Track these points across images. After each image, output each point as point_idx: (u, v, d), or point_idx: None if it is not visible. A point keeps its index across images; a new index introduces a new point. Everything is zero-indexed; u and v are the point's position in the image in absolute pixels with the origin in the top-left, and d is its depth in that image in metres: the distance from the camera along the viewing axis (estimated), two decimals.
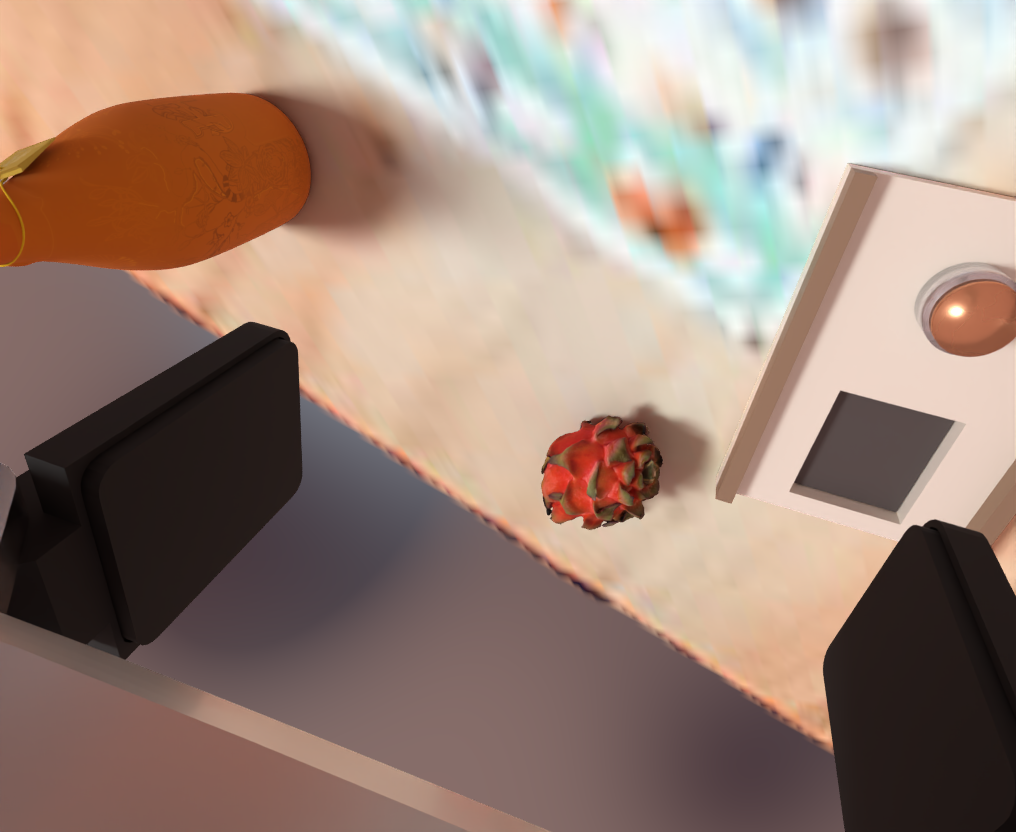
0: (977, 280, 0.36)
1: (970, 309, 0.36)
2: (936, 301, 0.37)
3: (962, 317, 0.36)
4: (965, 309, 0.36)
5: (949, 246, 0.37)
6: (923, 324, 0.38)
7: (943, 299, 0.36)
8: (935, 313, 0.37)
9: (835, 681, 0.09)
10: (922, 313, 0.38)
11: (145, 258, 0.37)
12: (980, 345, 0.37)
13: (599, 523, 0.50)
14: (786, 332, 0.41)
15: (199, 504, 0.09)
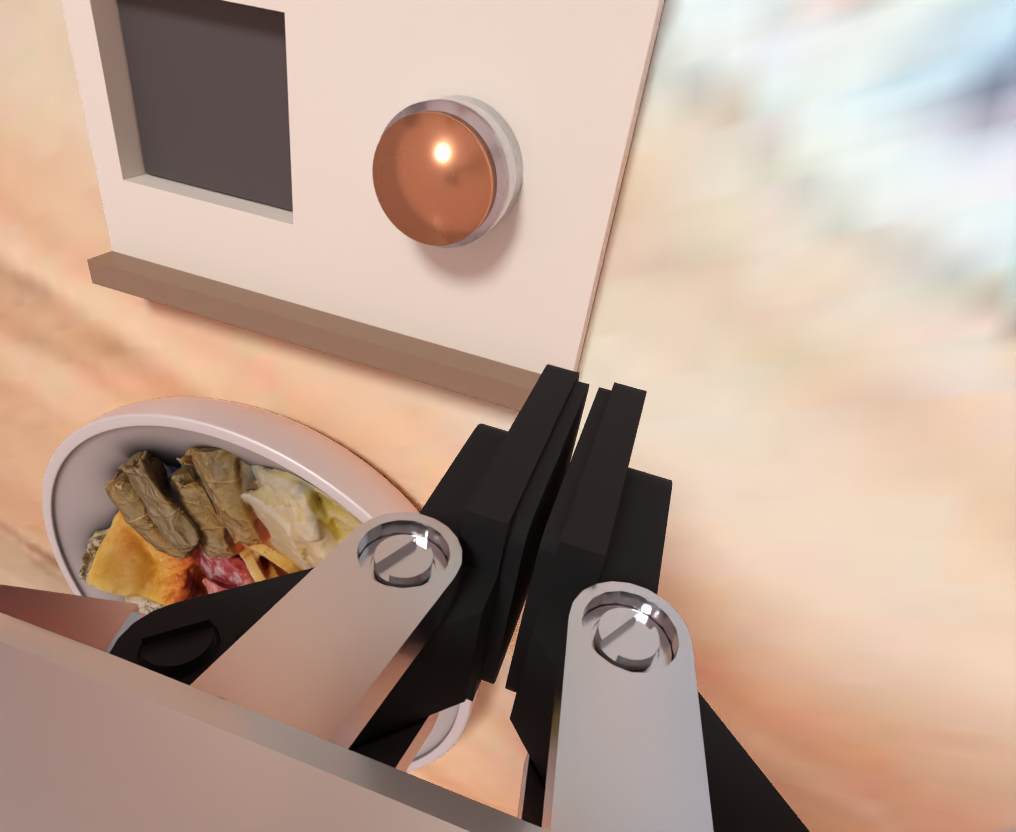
0: (493, 166, 0.22)
1: (445, 165, 0.22)
2: (452, 114, 0.22)
3: (430, 157, 0.22)
4: (444, 158, 0.22)
5: (544, 122, 0.23)
6: (413, 105, 0.22)
7: (456, 120, 0.21)
8: (431, 113, 0.21)
9: None
10: None
11: None
12: (394, 197, 0.23)
13: None
14: None
15: (536, 546, 0.09)
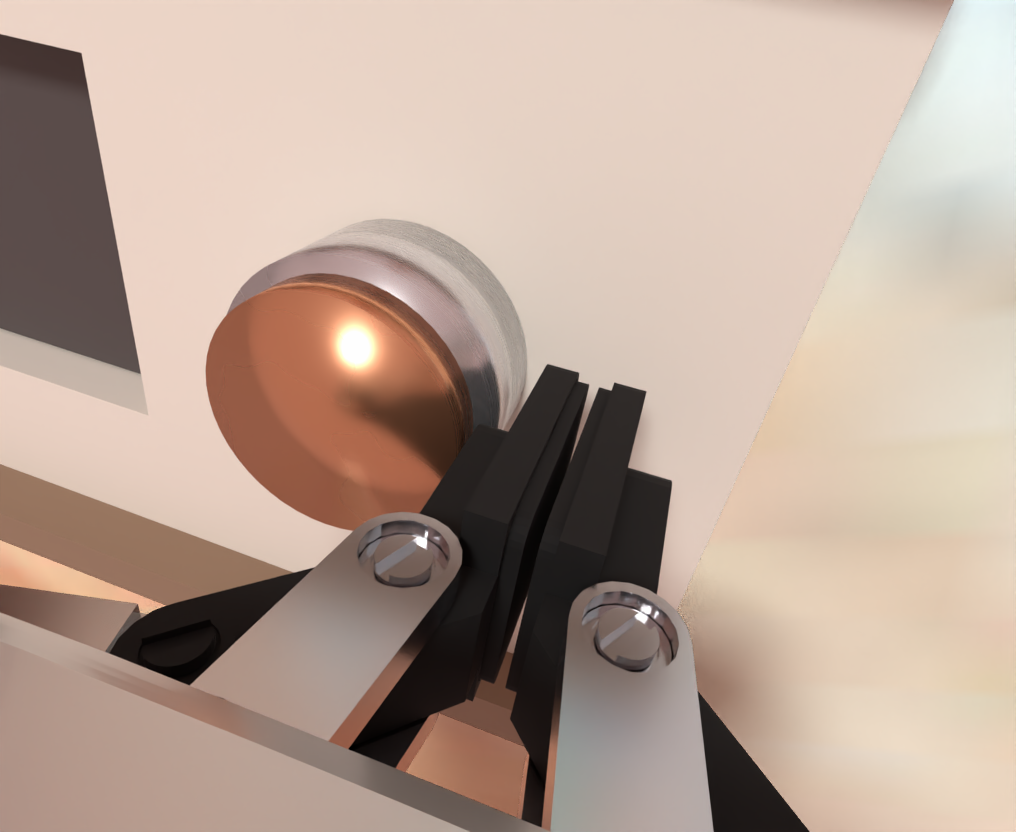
0: (464, 392, 0.10)
1: (357, 397, 0.10)
2: (372, 285, 0.10)
3: (324, 379, 0.10)
4: (355, 382, 0.10)
5: (616, 293, 0.11)
6: (286, 259, 0.10)
7: (377, 308, 0.09)
8: (318, 293, 0.09)
9: None
10: (329, 248, 0.10)
11: None
12: (256, 440, 0.11)
13: None
14: None
15: (536, 546, 0.09)
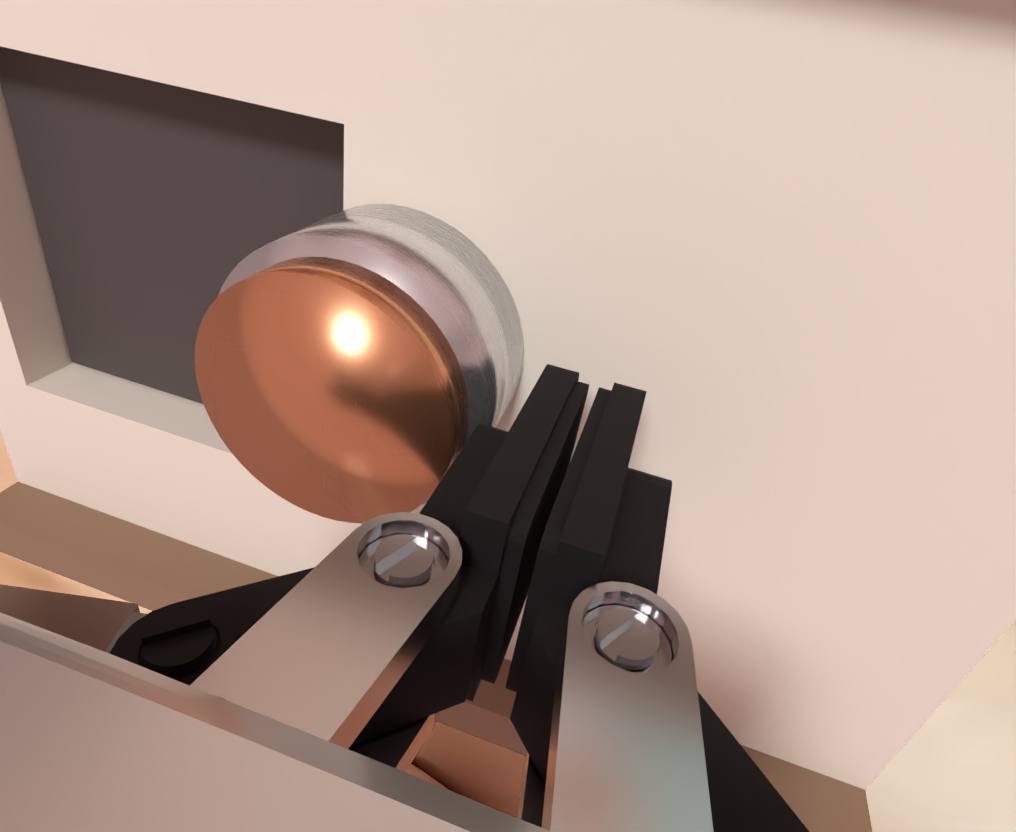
0: (462, 390, 0.10)
1: (353, 388, 0.10)
2: (377, 275, 0.09)
3: (321, 366, 0.10)
4: (351, 373, 0.09)
5: (951, 388, 0.10)
6: (290, 240, 0.10)
7: (382, 299, 0.09)
8: (323, 279, 0.09)
9: None
10: (334, 231, 0.10)
11: None
12: (242, 421, 0.11)
13: None
14: None
15: (536, 546, 0.09)
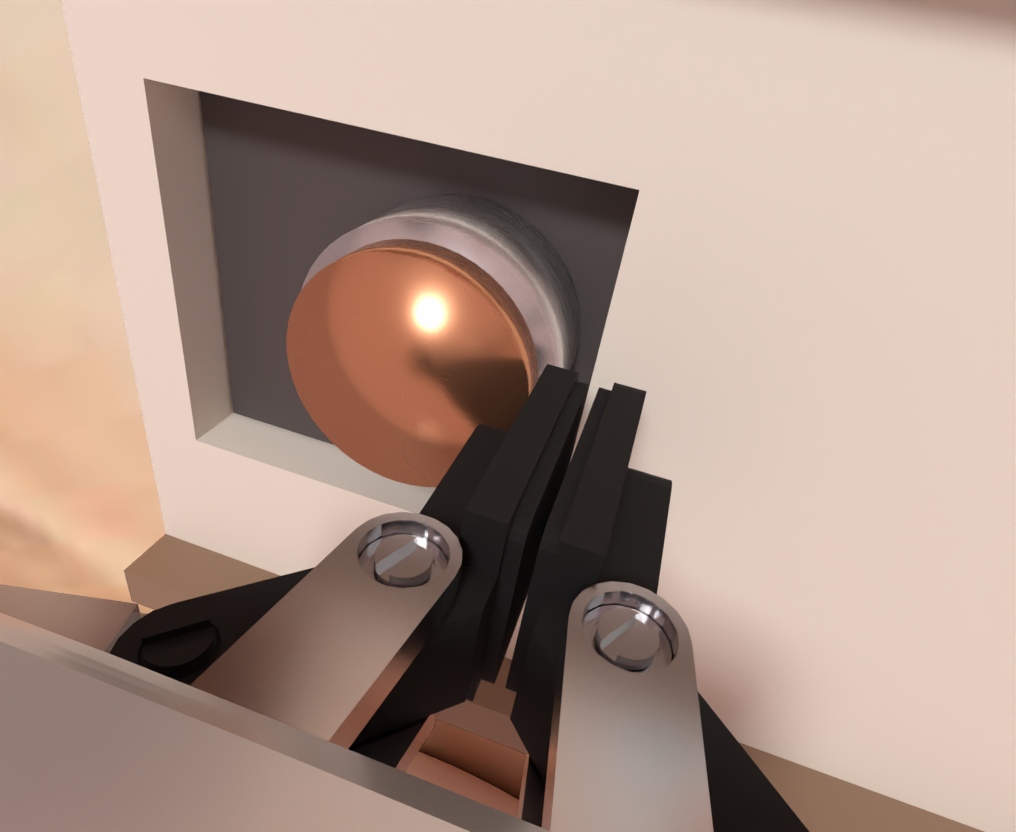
0: (533, 363, 0.11)
1: (437, 359, 0.10)
2: (461, 255, 0.10)
3: (407, 338, 0.10)
4: (436, 345, 0.10)
5: None
6: (379, 223, 0.10)
7: (468, 277, 0.10)
8: (416, 258, 0.10)
9: None
10: (418, 216, 0.11)
11: None
12: (327, 391, 0.11)
13: None
14: None
15: (536, 546, 0.09)
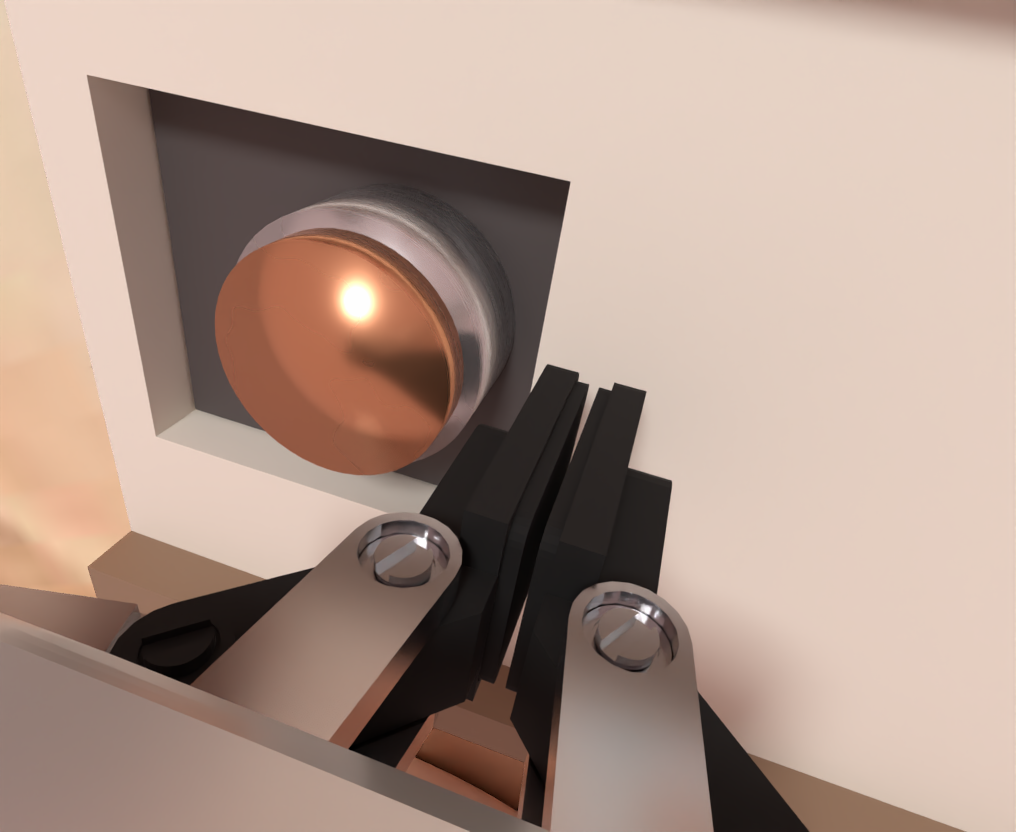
0: (458, 349, 0.11)
1: (359, 346, 0.11)
2: (381, 243, 0.10)
3: (330, 326, 0.11)
4: (358, 332, 0.10)
5: None
6: (301, 213, 0.11)
7: (385, 264, 0.10)
8: (332, 245, 0.10)
9: None
10: None
11: None
12: (258, 380, 0.12)
13: None
14: None
15: (536, 546, 0.09)
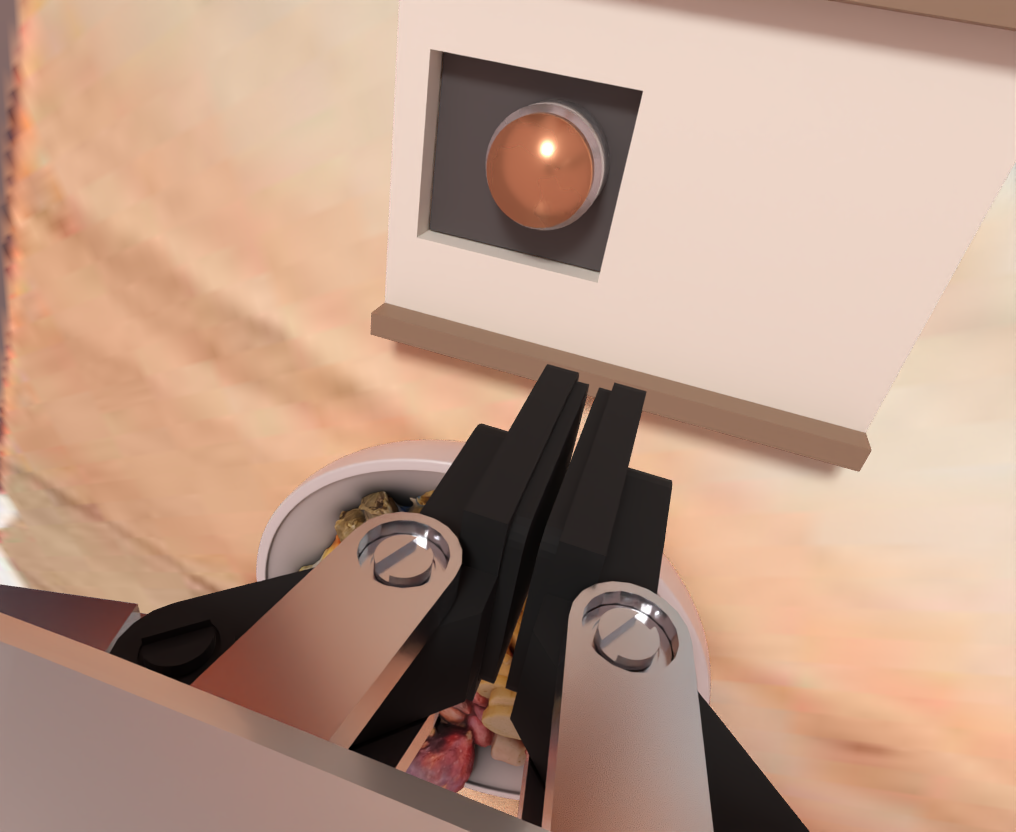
0: (592, 165, 0.26)
1: (554, 160, 0.26)
2: (564, 117, 0.26)
3: (542, 152, 0.26)
4: (554, 154, 0.26)
5: (900, 197, 0.24)
6: (529, 106, 0.26)
7: (568, 123, 0.25)
8: (549, 115, 0.25)
9: None
10: (545, 103, 0.26)
11: None
12: (503, 183, 0.27)
13: None
14: None
15: (536, 546, 0.09)
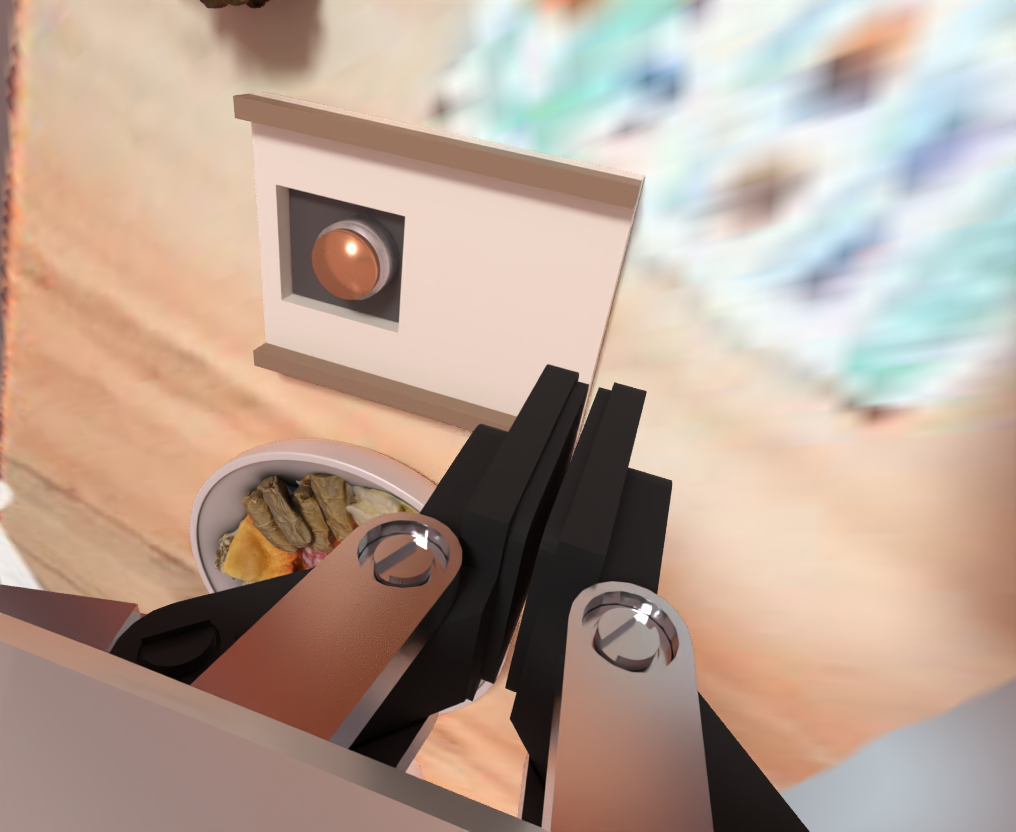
0: (378, 260, 0.40)
1: (351, 259, 0.40)
2: (356, 232, 0.40)
3: (343, 254, 0.40)
4: (350, 255, 0.40)
5: (562, 285, 0.39)
6: (335, 224, 0.40)
7: (357, 236, 0.39)
8: (343, 232, 0.39)
9: None
10: (345, 222, 0.40)
11: None
12: (323, 271, 0.41)
13: None
14: (459, 145, 0.35)
15: (536, 546, 0.09)
